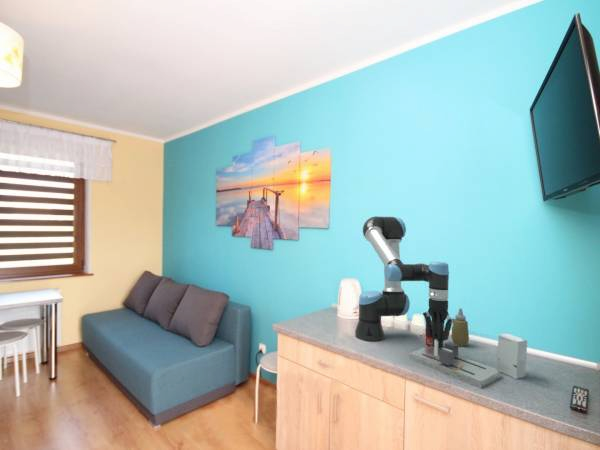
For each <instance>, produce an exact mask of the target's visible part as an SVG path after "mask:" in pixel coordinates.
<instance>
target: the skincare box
mask: <svg viewBox="0 0 600 450" xmlns="http://www.w3.org/2000/svg"><path fill="white" fill-rule="evenodd" d="M497 341H498V342H497V354H496V356H497V357H496V368H495V369H498V370H500V371H501V374H502V373H503V374H505V375H507V376H510V377H512V378H513V379H515V380H517V379H521V378H524V377H526V367H527V366H526V364H527V353H528V352H527V351H528V350H527V349H528V348H527V347H528V340H526V339H524V338H521V337H520V336H516V335H513V334H510V333H501V334H498V340H497Z"/></svg>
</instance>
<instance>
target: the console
mask: <svg viewBox="0 0 600 450" xmlns="http://www.w3.org/2000/svg"><path fill="white" fill-rule="evenodd" d="M443 348H448V349H450V350H453V351H454V363H453V364H451V365H446V364H444V363H441V362H439V356H435V355H434V347H433V346H425V347H423V348H420V349H417V350H414V351H411V352H409V359H411V360H412V361H415V362H417V363H419V364H422V365H424V366H427V367H429V368H431V369H434V370H437V371H439V372H440V373H443V374H446V375H448V376H451V377H453V378H456V379H458V380H460V381H462V380H463V382H465V383H467V382H468V383H467V384H470V385H472V386H475V387H477V388H480V389H483V388H484V387H486V386H487V385H490V384H491V383H493V382H494V381H495V382H496V381H497V380H498V379H500V378H501V376H502V375H501V374H502V372H501V371H500V370H498V369H496V368H495V367H492V366H489V365H486V364H483V363H480V362H477V361H475V360H472V359H469V358H466V357H464V356H460V355H459V346H458V344H455V343H453V341H452V342H451V341H448V342H445V343H444V345H443Z"/></svg>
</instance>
